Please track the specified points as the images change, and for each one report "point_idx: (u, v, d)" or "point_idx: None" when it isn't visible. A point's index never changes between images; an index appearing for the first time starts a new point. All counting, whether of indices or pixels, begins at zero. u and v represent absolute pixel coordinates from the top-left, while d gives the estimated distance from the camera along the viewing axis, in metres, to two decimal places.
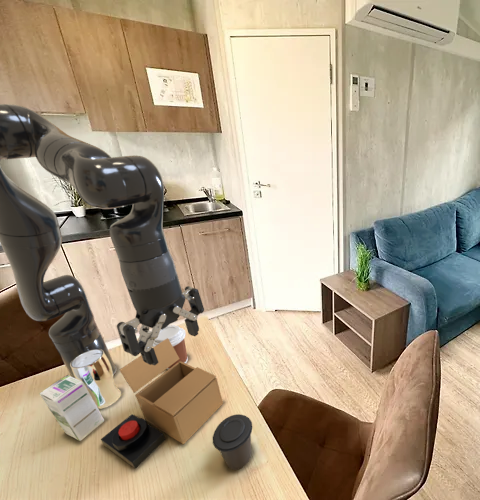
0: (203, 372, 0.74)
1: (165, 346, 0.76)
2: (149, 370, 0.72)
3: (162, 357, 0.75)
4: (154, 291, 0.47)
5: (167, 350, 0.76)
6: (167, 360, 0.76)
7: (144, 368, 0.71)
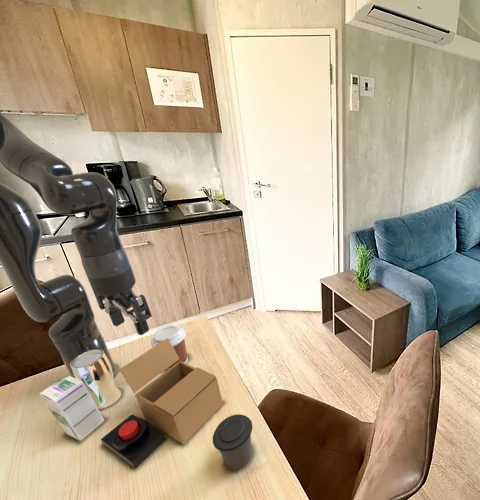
0: (203, 372, 0.74)
1: (165, 346, 0.76)
2: (149, 370, 0.72)
3: (162, 357, 0.75)
4: (88, 278, 0.59)
5: (167, 350, 0.76)
6: (167, 360, 0.76)
7: (144, 368, 0.71)
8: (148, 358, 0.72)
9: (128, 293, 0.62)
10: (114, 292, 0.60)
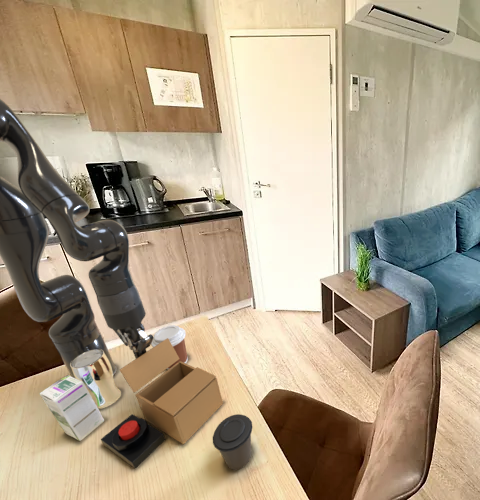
0: (203, 372, 0.74)
1: (165, 346, 0.76)
2: (149, 370, 0.72)
3: (162, 357, 0.75)
4: None
5: (167, 350, 0.76)
6: (167, 360, 0.76)
7: (144, 368, 0.71)
8: (148, 358, 0.72)
9: (138, 326, 0.68)
10: (125, 326, 0.66)
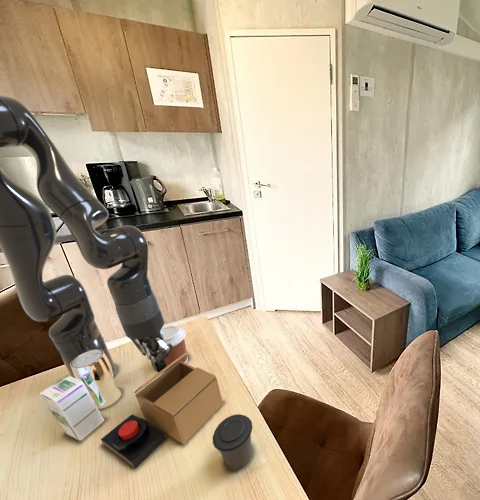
0: (203, 372, 0.74)
1: None
2: (157, 376, 0.71)
3: None
4: None
5: (179, 359, 0.75)
6: (172, 364, 0.75)
7: None
8: None
9: (157, 336, 0.65)
10: (144, 336, 0.63)
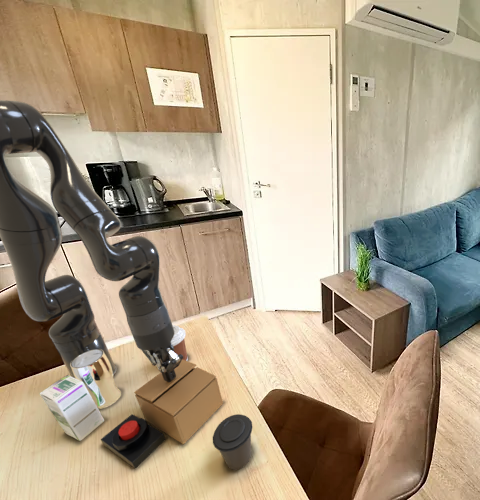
0: (203, 372, 0.74)
1: None
2: None
3: None
4: None
5: None
6: None
7: None
8: None
9: (168, 346, 0.65)
10: (155, 347, 0.63)
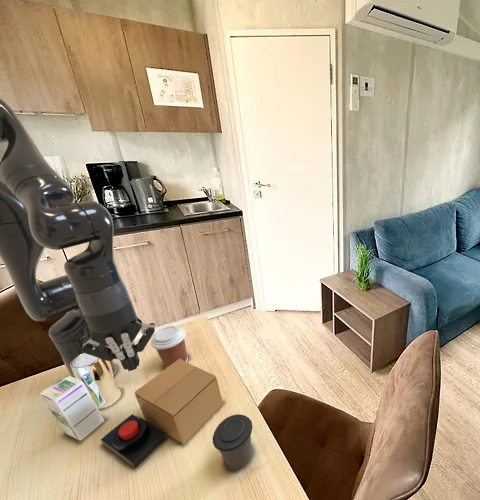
0: (203, 372, 0.74)
1: None
2: None
3: None
4: (92, 319, 0.53)
5: None
6: None
7: None
8: None
9: (137, 319, 0.60)
10: (130, 320, 0.58)
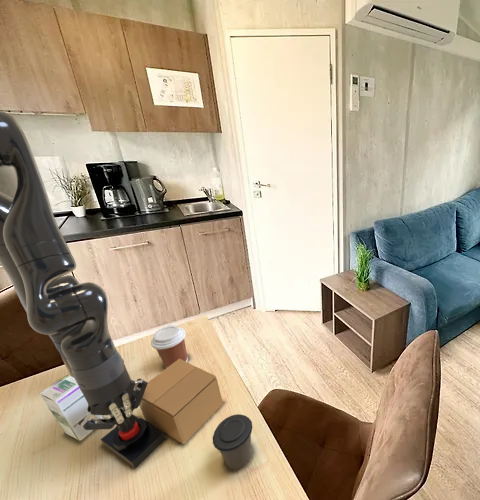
0: (203, 372, 0.74)
1: None
2: None
3: None
4: (101, 389, 0.56)
5: None
6: None
7: None
8: None
9: None
10: (130, 379, 0.62)
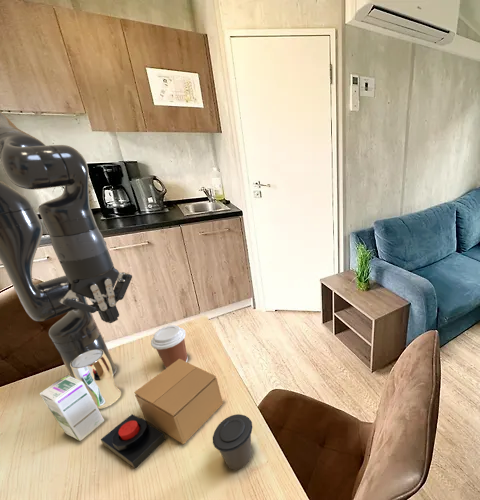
0: (203, 372, 0.74)
1: None
2: None
3: None
4: (82, 262, 0.55)
5: None
6: None
7: None
8: None
9: None
10: None
